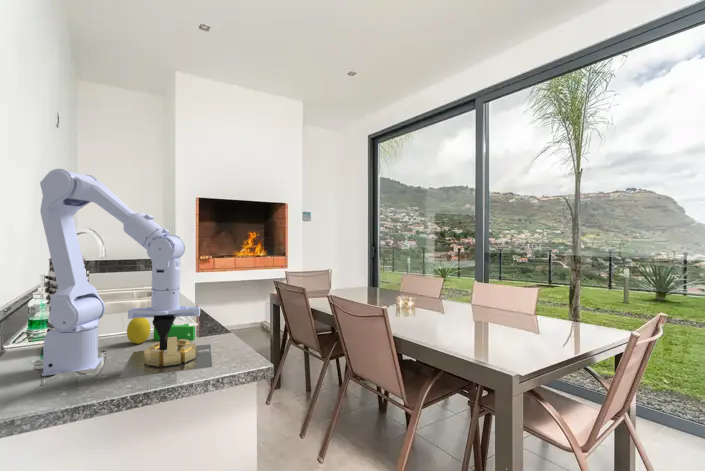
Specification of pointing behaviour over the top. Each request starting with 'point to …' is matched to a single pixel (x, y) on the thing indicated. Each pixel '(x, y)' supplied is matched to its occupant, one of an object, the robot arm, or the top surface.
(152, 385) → the top surface
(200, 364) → the dark grey square slab
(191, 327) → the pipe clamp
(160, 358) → the tan segmented ring
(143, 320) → the lemon
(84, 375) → the top surface
